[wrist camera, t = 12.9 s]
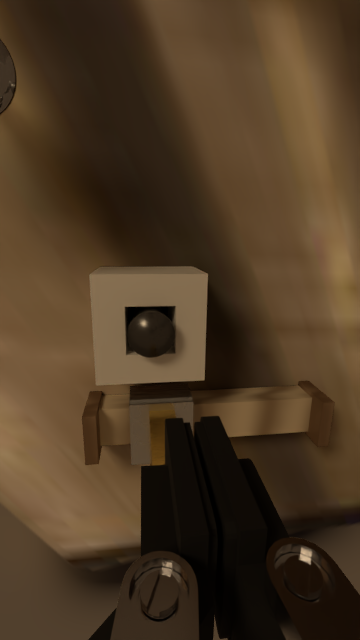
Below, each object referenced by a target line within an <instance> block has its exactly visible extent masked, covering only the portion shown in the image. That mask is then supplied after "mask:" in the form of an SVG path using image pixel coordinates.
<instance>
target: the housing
mask: <svg viewBox="0 0 360 640" xmlns="http://www.w3.org/2000/svg"><path fill="white" fill-rule="evenodd" d="M89 277H90V293H91V310H92V326H93V343H94V359H95V376H96V385H115V384H137V383H158V382H179V381H201V380H205V350H206V317H207V285H208V274H207V273H205V272H203V271H201V270H199V269H197V268H195V267H193V266H176V267H99V268H98V269H96V270H95V271H93V272H92V273H91V274H89ZM138 306H168V318H169V319H170V320H171V322H172V324H173V327H174V331H175V339H174V342H173V344H172V346H171V348H170V349H169V350H168V351H167V352H166V353H164V354H163V355H161V356H158V357H153V358H148V357H143V356H141V355H139V354H137V353H136V352H135V351H134V350H133V349H132V348H131V346H130V345H129V342H128V337H127V334H128V327H129V326H128V307H138Z"/></svg>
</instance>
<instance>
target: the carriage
mask: <svg viewBox="0 0 360 640" xmlns="http://www.w3.org/2000/svg"><path fill="white" fill-rule="evenodd" d="M129 412H130V442H131V465H136V464H149V463H150V466H153V465H165V419H170V418H183V421H184V423H185V422H190V425H191V429H192V432H193V399H192V394H191V391H190V388H189V385H188V383H185V384H164V385H143V386H130V398H129Z"/></svg>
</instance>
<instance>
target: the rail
mask: <svg viewBox="0 0 360 640" xmlns="http://www.w3.org/2000/svg"><path fill="white" fill-rule="evenodd" d="M191 394H192V399H193V436H194V423H195V422H200V419H201V417H205V416H219V417H220V419H221V421H222V424H223V426H224V428H225V431H226V433H227V435H228V437H237V436H251V435H266V434H280V433H294V432H305V433H306V434H307V436H308V437H309V438H310V439H311V440H312V441H313V442H314V444H315V445H316V446H317V447H326V446H328V445H329V438H330V431H331V424H332V417H333V410H334V403H335V402H333V401H332V400H331V399H330V398H329V397H327V396H326V395H325V394H324V393H323V392H321V391H320V390H319V389H318V388H317V387H315V386H314V385H313V384H312V383H311V382H309V381H299V384H298V385H297V386H278V387H258V388H238V389H218V390H199V391H191ZM129 398H130V394H120V395H102V391H93V392H90V393H89V397H88V400H87V403H86V406H85V409H84V413H83V416H82V424H83V437H84V451H85V464H86V465H92V464H99V459H100V453H101V448H102V446H109V445H123V444H131V442H130V412H129Z"/></svg>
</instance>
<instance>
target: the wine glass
mask: <svg viewBox="0 0 360 640" xmlns="http://www.w3.org/2000/svg"><path fill="white" fill-rule="evenodd" d="M15 84H16V75H15V68H14V64H13V61H12V58H11V56H10V53H9V51H8V50H7V48H6V46H5V45H4V43H3V42H2V41H1V40H0V113H2V112H3V111H4V110H5V109H6V108H7V106H8V105H9V103H10V102H11V100H12V97H13V95H14V91H15Z"/></svg>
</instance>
